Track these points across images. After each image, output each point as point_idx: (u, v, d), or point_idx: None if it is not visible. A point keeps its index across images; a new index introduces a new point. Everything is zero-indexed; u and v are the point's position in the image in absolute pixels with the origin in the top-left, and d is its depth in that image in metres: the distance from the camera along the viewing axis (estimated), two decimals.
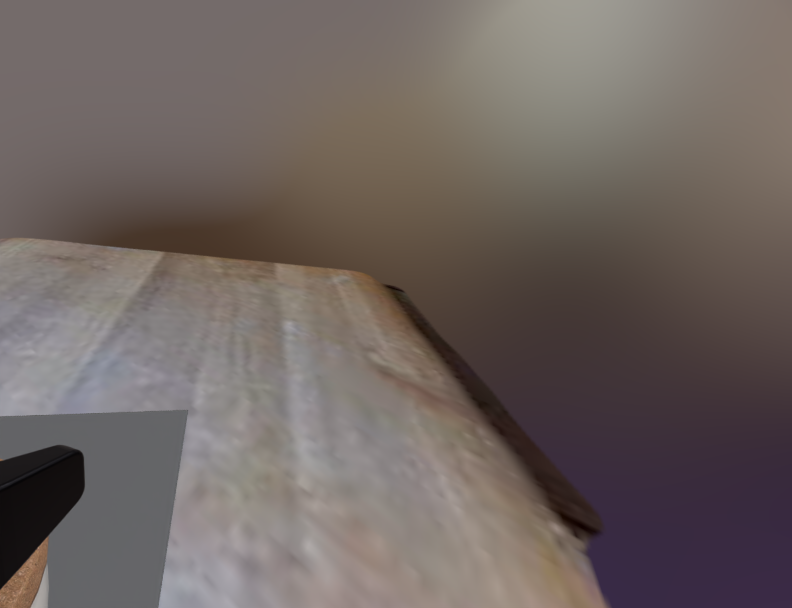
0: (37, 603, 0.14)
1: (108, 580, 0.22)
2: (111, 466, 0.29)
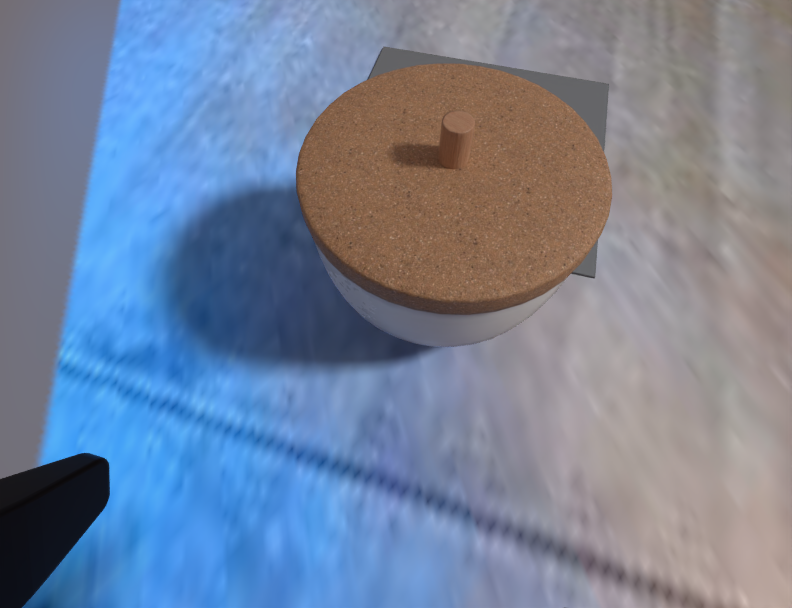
0: None
1: None
2: None
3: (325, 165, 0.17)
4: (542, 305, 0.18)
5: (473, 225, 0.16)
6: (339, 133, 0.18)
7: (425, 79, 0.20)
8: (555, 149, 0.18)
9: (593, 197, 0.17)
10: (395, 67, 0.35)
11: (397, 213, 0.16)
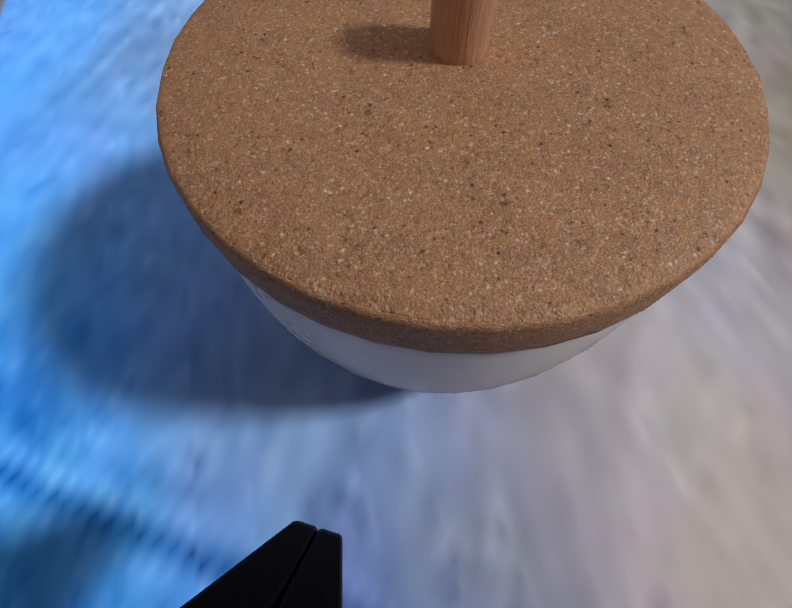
0: None
1: None
2: None
3: (213, 60, 0.09)
4: None
5: (499, 167, 0.08)
6: (248, 9, 0.10)
7: None
8: (651, 33, 0.09)
9: (736, 116, 0.08)
10: None
11: (342, 144, 0.08)
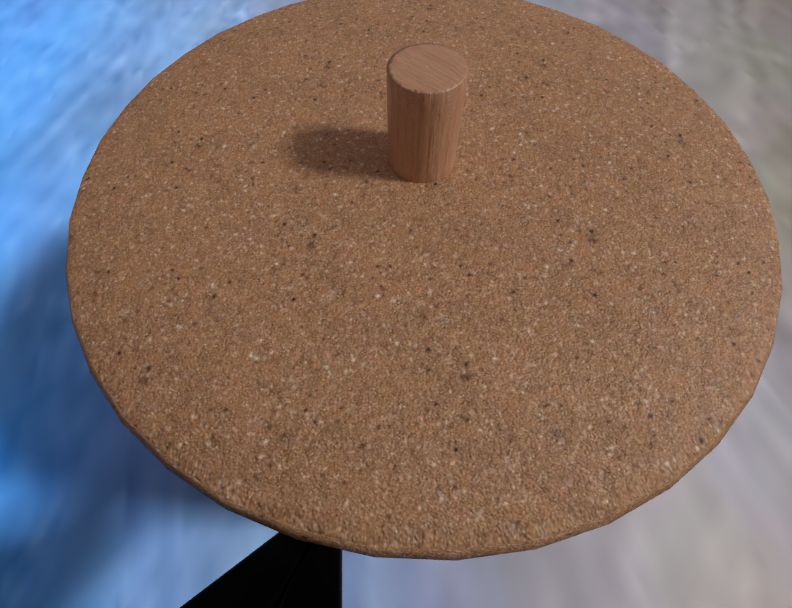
0: None
1: None
2: None
3: (138, 171, 0.08)
4: None
5: (462, 324, 0.06)
6: (186, 105, 0.09)
7: (377, 10, 0.10)
8: (643, 143, 0.08)
9: (743, 253, 0.07)
10: None
11: (276, 290, 0.07)
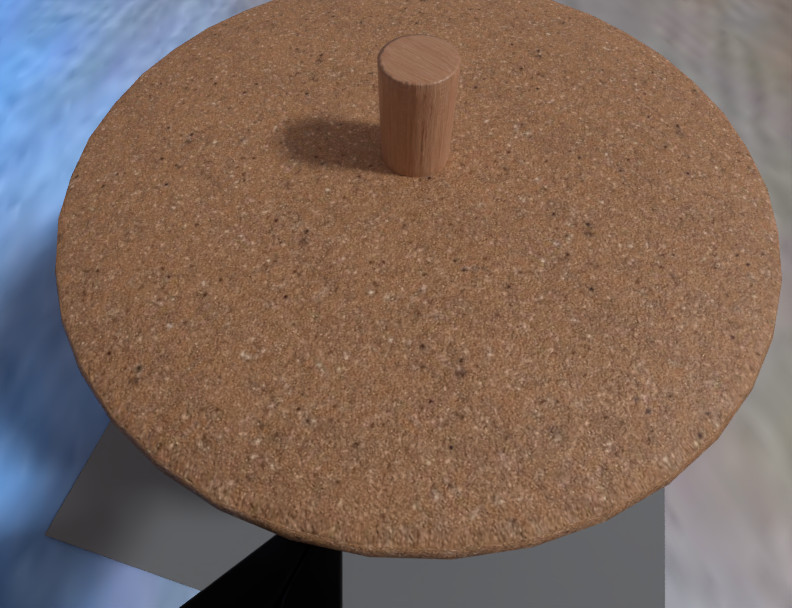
0: None
1: (579, 557, 0.13)
2: None
3: (127, 168, 0.08)
4: None
5: (456, 321, 0.06)
6: (176, 101, 0.09)
7: (369, 2, 0.10)
8: (640, 134, 0.08)
9: (742, 244, 0.07)
10: None
11: (268, 287, 0.07)
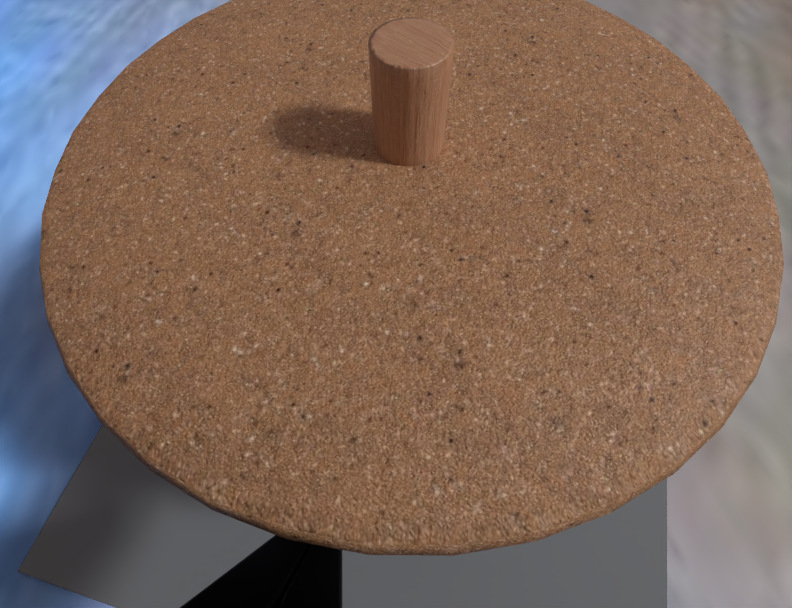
0: None
1: (577, 594, 0.12)
2: None
3: (113, 161, 0.08)
4: None
5: (454, 311, 0.06)
6: (162, 92, 0.08)
7: None
8: (638, 119, 0.08)
9: (743, 229, 0.07)
10: None
11: (260, 281, 0.06)
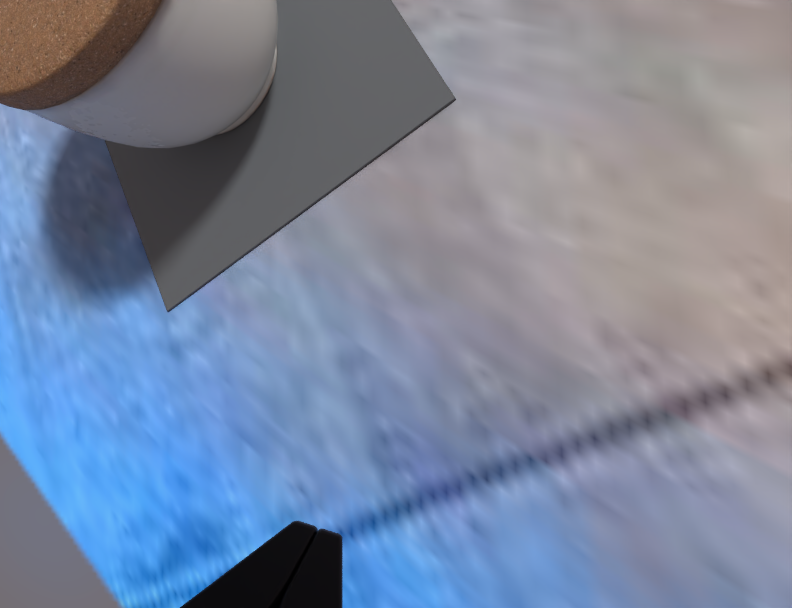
0: None
1: (370, 70, 0.20)
2: None
3: None
4: None
5: None
6: None
7: None
8: None
9: None
10: None
11: (24, 5, 0.15)
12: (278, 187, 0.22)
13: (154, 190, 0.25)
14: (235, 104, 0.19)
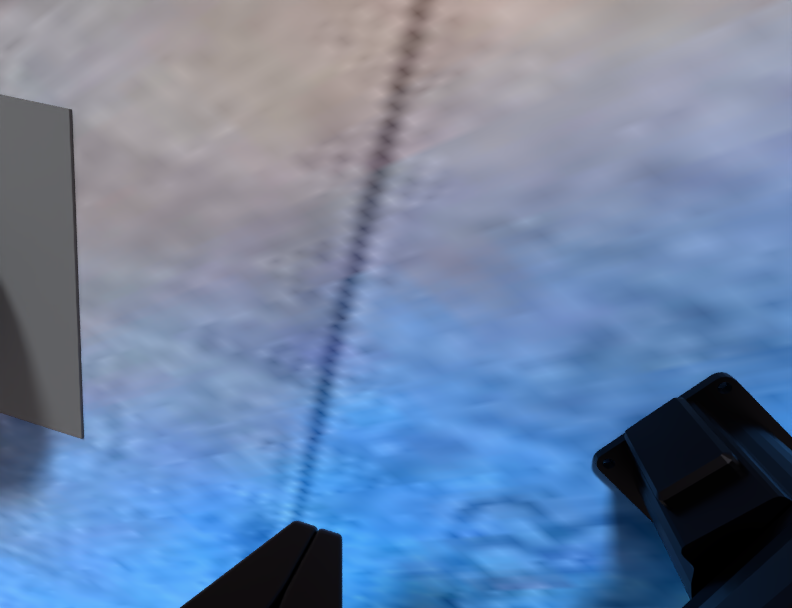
0: None
1: (3, 148, 0.21)
2: None
3: None
4: None
5: None
6: None
7: None
8: None
9: None
10: None
11: None
12: (45, 287, 0.23)
13: None
14: None
